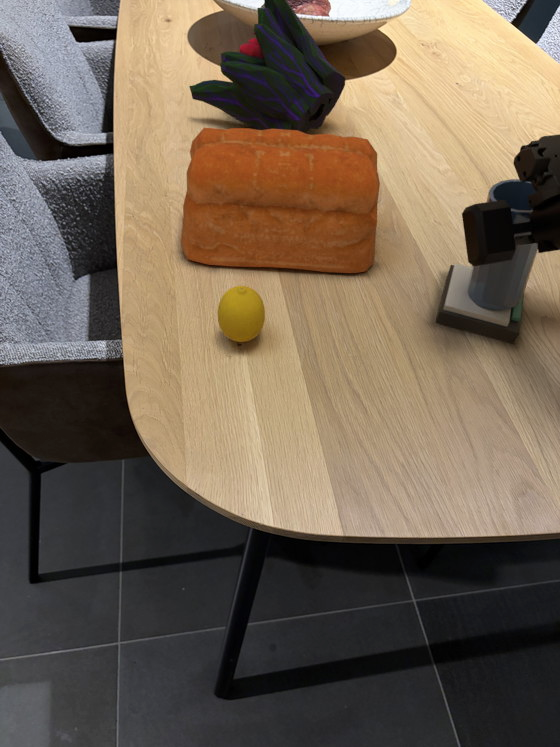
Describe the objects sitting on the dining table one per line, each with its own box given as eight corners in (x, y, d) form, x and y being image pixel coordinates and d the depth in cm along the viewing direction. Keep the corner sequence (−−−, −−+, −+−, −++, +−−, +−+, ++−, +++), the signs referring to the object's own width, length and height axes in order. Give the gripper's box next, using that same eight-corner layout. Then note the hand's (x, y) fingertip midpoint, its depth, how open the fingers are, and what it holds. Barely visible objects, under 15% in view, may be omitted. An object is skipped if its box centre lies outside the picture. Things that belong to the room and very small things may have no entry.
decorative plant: (270, 199, 109) (165, 97, 115) (373, 110, 112) (266, 16, 118) (259, 127, 89) (133, 9, 95) (385, 22, 92) (255, -86, 98)
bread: (375, 279, 82) (398, 180, 71) (178, 266, 81) (169, 165, 70) (368, 218, 91) (387, 122, 80) (191, 207, 90) (185, 108, 79)
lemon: (269, 350, 72) (272, 301, 66) (224, 359, 71) (223, 309, 65) (256, 319, 76) (258, 269, 70) (213, 326, 74) (211, 276, 68)
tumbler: (531, 304, 75) (565, 206, 65) (481, 314, 74) (506, 217, 64) (506, 271, 79) (533, 175, 69) (458, 281, 79) (478, 184, 68)
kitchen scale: (520, 294, 82) (527, 278, 80) (514, 344, 75) (522, 328, 73) (447, 275, 83) (452, 259, 81) (435, 322, 77) (441, 306, 75)
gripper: (669, 116, 59) (558, 161, 74) (502, 133, 54) (421, 177, 69) (680, 231, 60) (568, 252, 75) (518, 257, 55) (434, 274, 70)
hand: (500, 237), depth 72 cm, fingers closed on tumbler, 7 cm apart
